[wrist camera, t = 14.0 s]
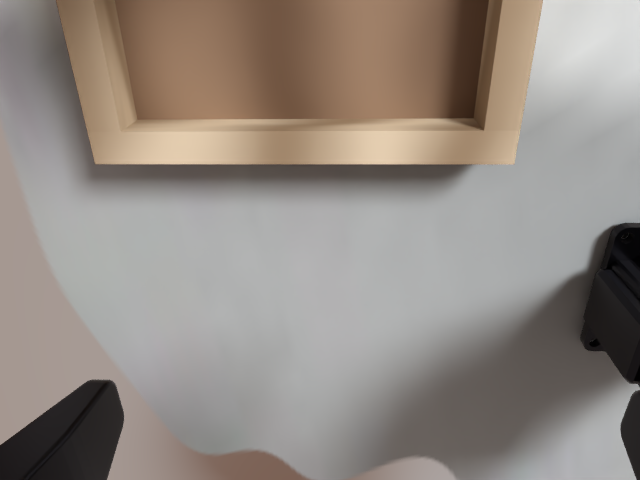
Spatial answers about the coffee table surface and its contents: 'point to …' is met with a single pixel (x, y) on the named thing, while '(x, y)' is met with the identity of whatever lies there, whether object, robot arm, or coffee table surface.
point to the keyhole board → (301, 79)
